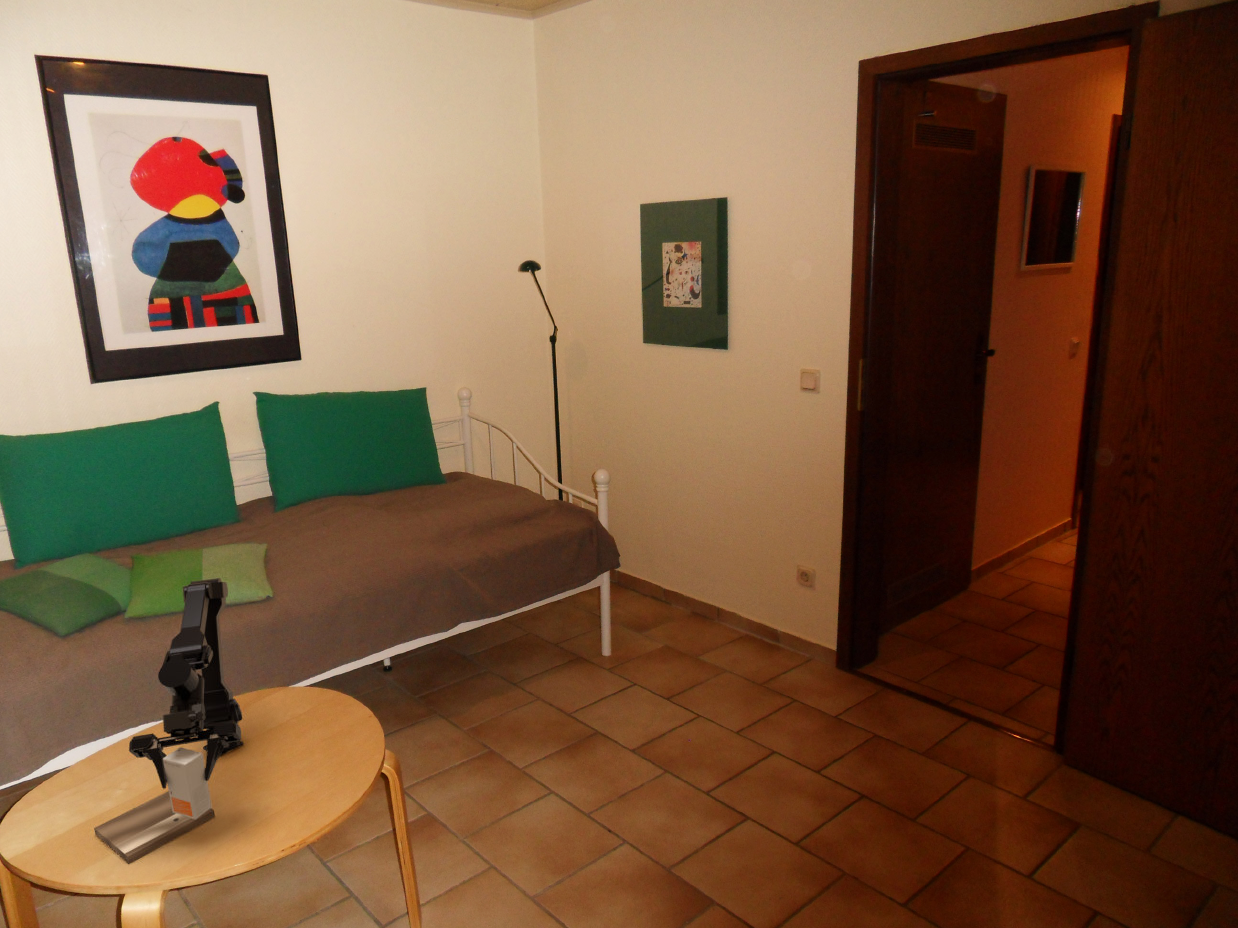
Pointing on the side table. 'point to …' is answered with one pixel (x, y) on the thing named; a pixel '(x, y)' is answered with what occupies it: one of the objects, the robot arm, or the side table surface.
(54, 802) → the side table surface
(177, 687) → the robot arm
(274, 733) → the side table surface
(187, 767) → the skincare box
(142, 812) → the bent metal bracket plate
